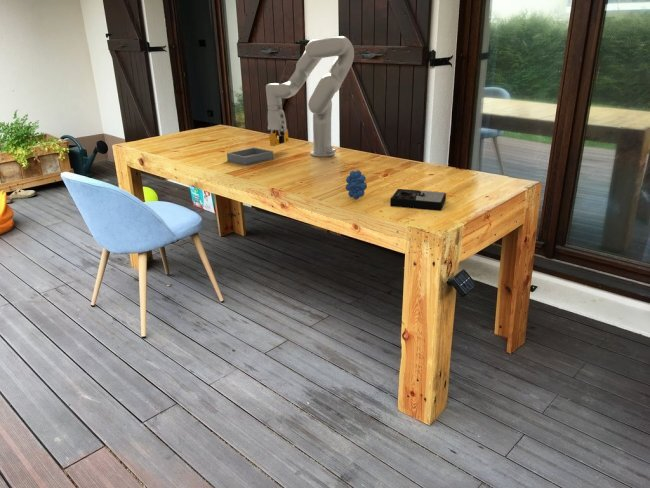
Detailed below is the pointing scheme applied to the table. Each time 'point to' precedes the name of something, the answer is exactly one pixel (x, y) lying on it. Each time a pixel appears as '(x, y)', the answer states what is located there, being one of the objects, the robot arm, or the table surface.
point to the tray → (250, 156)
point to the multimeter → (418, 199)
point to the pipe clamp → (277, 139)
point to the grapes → (356, 184)
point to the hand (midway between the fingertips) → (278, 142)
